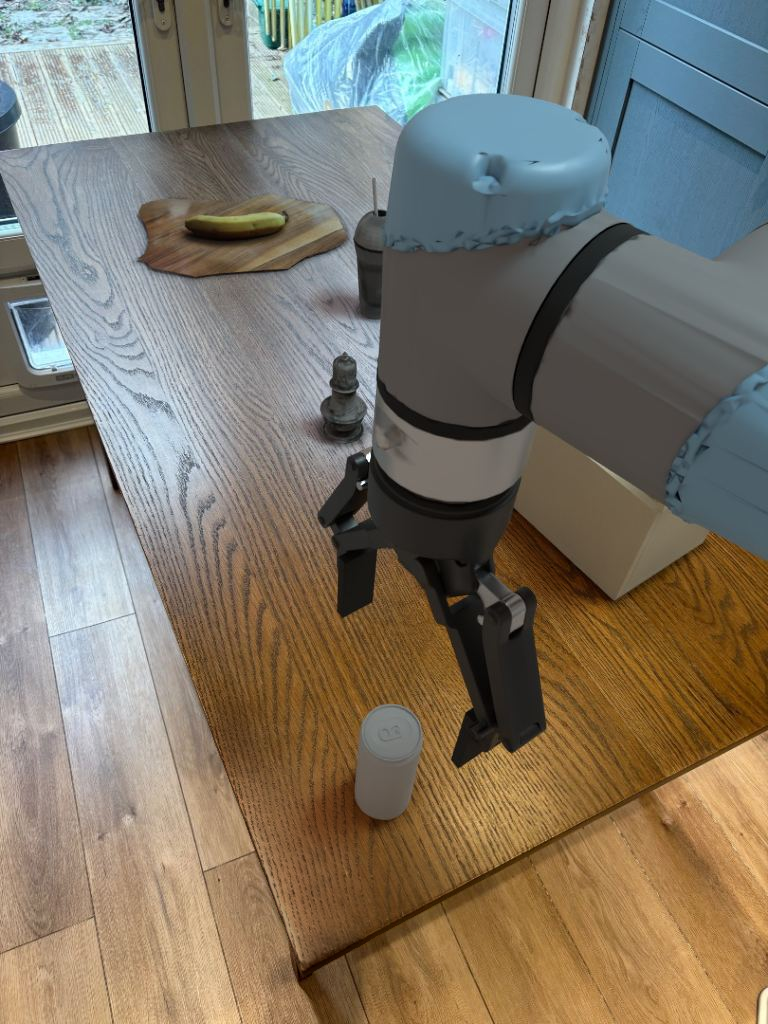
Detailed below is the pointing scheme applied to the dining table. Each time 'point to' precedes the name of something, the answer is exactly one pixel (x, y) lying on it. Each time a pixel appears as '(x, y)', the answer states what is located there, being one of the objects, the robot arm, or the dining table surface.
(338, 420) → the chess piece
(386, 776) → the beverage can
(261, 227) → the cutting board
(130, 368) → the dining table surface
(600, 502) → the cream box
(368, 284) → the beverage cup
